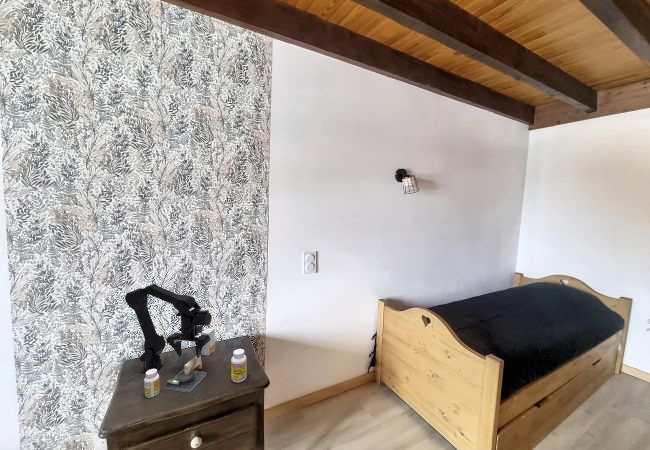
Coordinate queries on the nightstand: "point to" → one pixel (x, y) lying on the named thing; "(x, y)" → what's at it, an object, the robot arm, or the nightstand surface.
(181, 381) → the knob
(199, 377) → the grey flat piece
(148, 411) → the nightstand surface
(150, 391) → the supplement bottle
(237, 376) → the supplement bottle
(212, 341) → the skincare box
